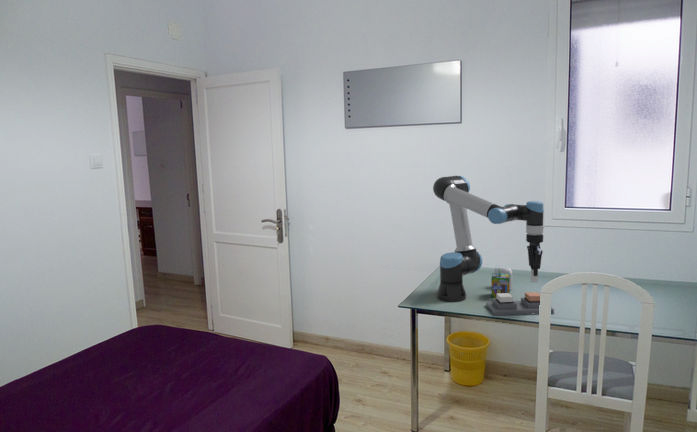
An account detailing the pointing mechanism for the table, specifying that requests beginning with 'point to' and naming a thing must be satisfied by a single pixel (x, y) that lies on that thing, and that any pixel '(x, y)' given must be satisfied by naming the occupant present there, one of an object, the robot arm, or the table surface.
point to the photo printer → (505, 271)
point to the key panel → (514, 307)
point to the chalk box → (500, 283)
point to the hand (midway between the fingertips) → (534, 281)
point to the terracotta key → (532, 296)
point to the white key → (504, 297)
